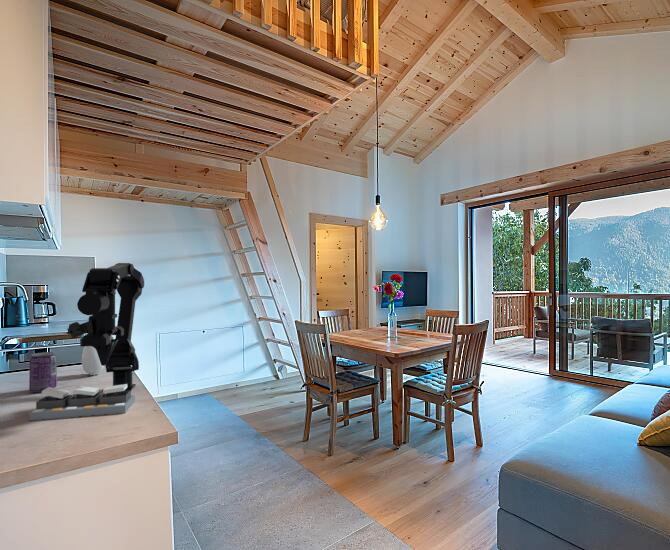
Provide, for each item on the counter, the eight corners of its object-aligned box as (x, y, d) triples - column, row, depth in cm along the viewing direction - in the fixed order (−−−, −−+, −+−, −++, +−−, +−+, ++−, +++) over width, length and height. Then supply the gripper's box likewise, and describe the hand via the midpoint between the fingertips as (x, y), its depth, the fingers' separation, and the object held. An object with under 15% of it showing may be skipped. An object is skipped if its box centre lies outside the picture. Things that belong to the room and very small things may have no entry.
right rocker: (107, 390, 109) (107, 386, 109) (127, 387, 110) (127, 383, 110) (103, 393, 106) (102, 390, 106) (123, 390, 107) (123, 387, 107)
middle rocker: (78, 389, 107) (78, 385, 107) (98, 391, 108) (99, 388, 109) (72, 393, 104) (73, 389, 104) (93, 395, 105) (94, 392, 105)
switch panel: (47, 407, 108) (47, 392, 108) (134, 401, 114) (135, 386, 114) (28, 420, 98) (28, 403, 98) (125, 413, 104) (125, 396, 104)
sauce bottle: (79, 378, 140) (79, 329, 140) (83, 373, 147) (84, 326, 147) (104, 376, 143) (104, 328, 143) (107, 371, 150) (107, 325, 150)
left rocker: (47, 390, 105) (48, 386, 105) (68, 394, 107) (69, 391, 107) (41, 394, 102) (42, 390, 102) (62, 398, 103) (63, 395, 103)
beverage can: (52, 385, 130) (53, 350, 130) (59, 389, 126) (59, 353, 126) (26, 390, 125) (26, 354, 125) (32, 394, 120) (32, 356, 120)
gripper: (84, 309, 117) (84, 359, 117) (57, 315, 99) (57, 375, 99) (124, 308, 120) (124, 357, 120) (105, 314, 102) (105, 372, 102)
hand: (103, 365), depth 110 cm, fingers closed
